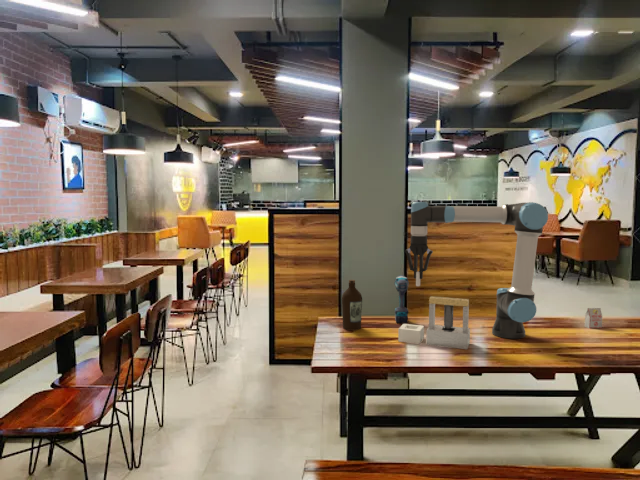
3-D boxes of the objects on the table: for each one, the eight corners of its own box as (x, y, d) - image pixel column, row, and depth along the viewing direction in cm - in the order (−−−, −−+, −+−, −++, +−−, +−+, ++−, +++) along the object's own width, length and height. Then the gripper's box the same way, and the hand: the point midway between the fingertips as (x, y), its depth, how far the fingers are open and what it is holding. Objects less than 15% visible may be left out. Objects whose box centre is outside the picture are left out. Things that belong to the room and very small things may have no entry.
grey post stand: (469, 343, 216) (470, 304, 215) (467, 349, 207) (468, 308, 206) (430, 338, 223) (430, 300, 222) (426, 344, 214) (426, 305, 213)
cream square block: (423, 338, 224) (424, 325, 224) (419, 343, 215) (419, 331, 215) (403, 335, 228) (403, 323, 228) (398, 341, 219) (398, 328, 219)
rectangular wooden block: (468, 304, 212) (468, 299, 212) (467, 306, 208) (467, 300, 208) (430, 301, 219) (430, 296, 219) (429, 303, 215) (429, 297, 215)
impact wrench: (406, 316, 268) (406, 272, 266) (410, 326, 246) (410, 279, 244) (392, 315, 269) (392, 272, 267) (394, 326, 246) (395, 279, 244)
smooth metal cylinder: (453, 338, 216) (453, 304, 215) (452, 341, 212) (452, 306, 211) (444, 338, 218) (445, 304, 216) (443, 340, 214) (443, 305, 213)
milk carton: (584, 326, 245) (585, 307, 244) (597, 326, 245) (597, 307, 245) (589, 328, 241) (590, 309, 240) (601, 327, 242) (602, 308, 241)
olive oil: (337, 326, 245) (337, 279, 243) (354, 324, 250) (355, 277, 248) (348, 331, 236) (348, 282, 234) (366, 328, 241) (366, 280, 239)
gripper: (434, 235, 218) (433, 285, 219) (406, 234, 223) (406, 283, 225) (431, 236, 211) (430, 288, 213) (403, 235, 216) (402, 286, 218)
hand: (418, 285), depth 219 cm, fingers closed
